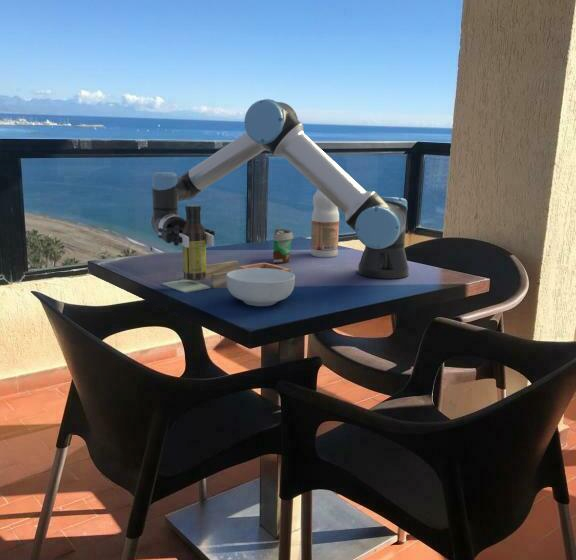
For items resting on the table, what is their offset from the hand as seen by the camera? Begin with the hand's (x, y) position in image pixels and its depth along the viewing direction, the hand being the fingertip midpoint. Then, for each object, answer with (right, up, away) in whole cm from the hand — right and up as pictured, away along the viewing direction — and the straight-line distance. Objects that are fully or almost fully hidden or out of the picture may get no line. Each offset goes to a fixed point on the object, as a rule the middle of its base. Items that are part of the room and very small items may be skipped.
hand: (200, 241), depth 156 cm
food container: (+21, -4, +40) cm, 45 cm away
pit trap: (+16, -8, +23) cm, 29 cm away
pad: (-5, -12, +5) cm, 13 cm away
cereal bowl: (+16, -16, -8) cm, 24 cm away
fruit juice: (+35, -2, +52) cm, 63 cm away
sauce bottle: (-3, -10, +7) cm, 12 cm away
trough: (+5, -10, +13) cm, 17 cm away
